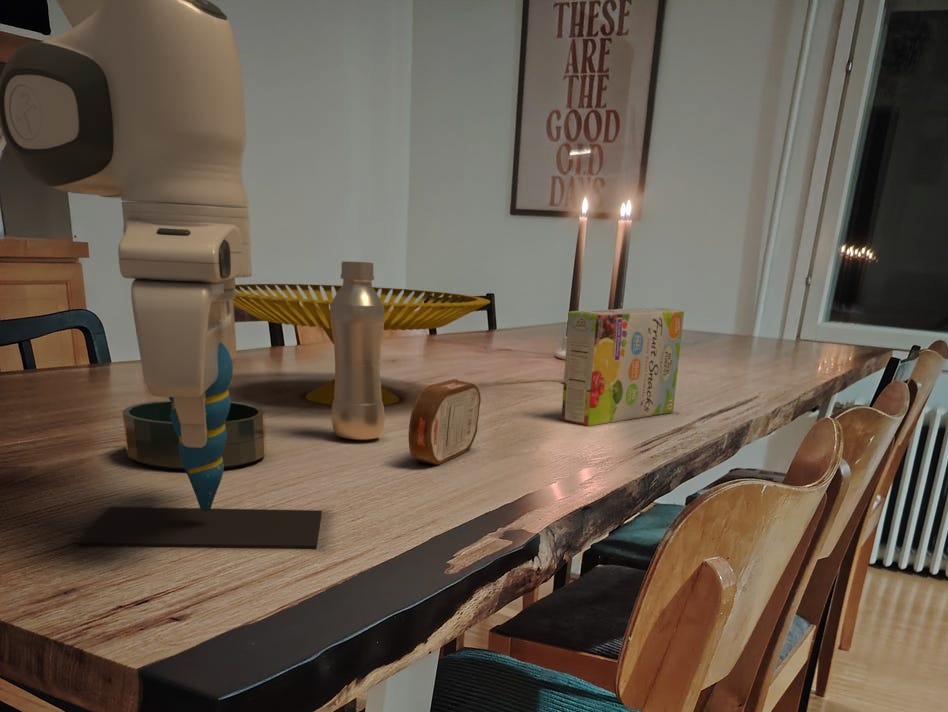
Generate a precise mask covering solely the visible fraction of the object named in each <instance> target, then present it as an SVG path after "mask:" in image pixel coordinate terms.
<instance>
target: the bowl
mask: <svg viewBox="0 0 948 712" xmlns="http://www.w3.org/2000/svg"><path fill="white" fill-rule="evenodd" d="M171 409H172V404H171V402H170V400H169V399H168V400H155V401H149V402H141V403H138V404H134V405H130V406H127V407H126V408H124V409H123V410H122V411H121V412H122V421H123V430H124V441H125V451H126V454H127V457H128V458H129V459H131V460H134V461H136V462H137V463H140V464H142V465H145V466H148V467H151V468H156V469H162V470H169V471H182V472H183V471H185V472H186V470H185V468H184V466H183V463H182V461H181V458H180V455H179V448H178V446H179V438H178V436H177V434H176V431H175V429H174V427H173V425H172V422H171V417H170V414H171ZM265 415H266V413H265V411H264V410H263V409H262V408H261V407H259V406H255V405H253V404H248V403H243V402H237V401H231V404H230V409H229V413H228V416H227V418H226V421H225V426H226V431H227V438H226V444H225V447H224V451H223V454H222V458H223V463H224V470H229V469H235V468H240V467H243V466H247V465H250V464H252V463H254V462H256V461H258V460H260V459H261V458H264V457H265V456H266V453H267V439H266V438H267V437H266V416H265Z"/></svg>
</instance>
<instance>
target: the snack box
mask: <svg viewBox="0 0 948 712" xmlns="http://www.w3.org/2000/svg"><path fill="white" fill-rule="evenodd" d="M684 314H685V311H684V310H683V309H677V308H669V307H650V308H645V307H643V308H616V309H594V310H593V309H592V310H570V311H568V313H567V326H566V327H567V328H566V344H565V358H564V373H563V387H562V389H563V391H562V393H563V394H562V404H561V418H560V419H561V420H560V421H562V422H565V423H571V424H577V425H582V426H587V427H591V426H592V427H593V426H598V425H603V424H609V423H615V422H622V421H627V420H634V419H640V418H647V417H651V416H659V415H665V414H670V413H674V409H675V408H674V407H675V397H676V389H677V388H676V387H677V379H678V371H679V361H680V352H681V351H680V350H681V342H682V334H683V332H682V331H683V326H684V325H683V323H684V316H685V315H684Z"/></svg>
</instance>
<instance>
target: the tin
mask: <svg viewBox="0 0 948 712" xmlns="http://www.w3.org/2000/svg"><path fill="white" fill-rule="evenodd" d="M480 407H481V392H480V390H479V388H478V386H477V385H476V384H475V383H472V382H468V381H463V380H458V379H457V378H452V379H449V380H444V381H440V382H436V383H431V384H428V385H426V386H424V387H423V389H422V390H421V391H420V392H419V394H418V396H417V397H416V399H415V401H414V404H413V407H412V410H411V414H410V419H409V425H408V449H409V452H410V453H409V454H410V455H411V457H412V459H413V460H414V461H415V462H417V463H425V464H430V465H437V466H438V465H442V464H443V463H446V462H448V461H450V460H453V459H454V458H457V457H459V456H462V455H463V454H466V453H467V452H468V451H469V450H470V448H471V447H472V446H473V443H474V442H475V438H476V436H477V432H478V423H479V416H480Z"/></svg>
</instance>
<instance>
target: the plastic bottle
mask: <svg viewBox="0 0 948 712" xmlns="http://www.w3.org/2000/svg"><path fill="white" fill-rule="evenodd" d="M340 266H341V274H340V279H342V280H343V281H342V285H341V286H342V287H341V288H340V290H339V291H338V292H337V294H335V295H334V296H333V301H332V303H331V307H330V306H329V310H330V319H331V327H332V334H333V341H334V344H333V351H334V359H335V358H336V361H335V360H334V363H335V364H334V369H335V368H336V373H335V372H334V379H335V389H334V397H335V398H334V399H333V404H332V405H331V412H330V420H331V425H332V430H333V432H334V433H335V435H336V436H338V437H341V438H344V439H347V440H352V441H360V442H361V441H368V440H373V439H378V438H380V437H381V435H382V433H383V432H384V429H385V423H386V415H385V407H384V406H385V405H383V401H382V400H381V399H382V395H381V387H382V382H381V362H380V361H381V358H382V357H381V355H382V342H383V335H384V330H383V328H384V321H385V311H384V307H383V304H382V302H381V300H380V296H379V295H378V292H377V293H376V292H375V290H374V289H373V287H374V286H373V283H372V282H373V281H375V275H374V262H365V261H347V260H346V261H341V265H340Z"/></svg>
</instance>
